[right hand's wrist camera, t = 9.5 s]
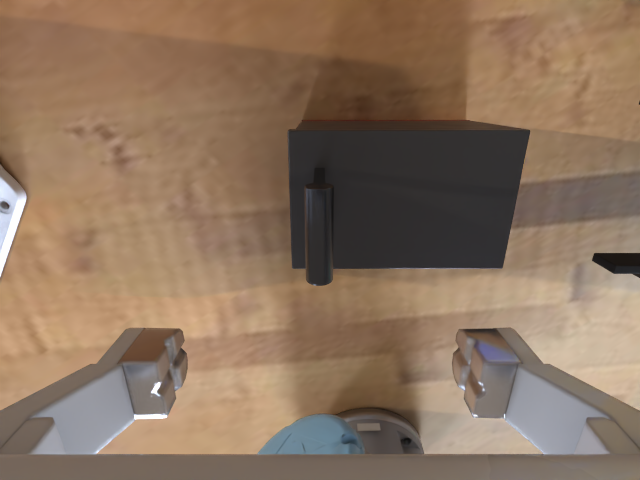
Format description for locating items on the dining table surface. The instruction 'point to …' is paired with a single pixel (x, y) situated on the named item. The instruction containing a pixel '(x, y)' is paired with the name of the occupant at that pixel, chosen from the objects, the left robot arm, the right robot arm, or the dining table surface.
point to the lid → (402, 198)
